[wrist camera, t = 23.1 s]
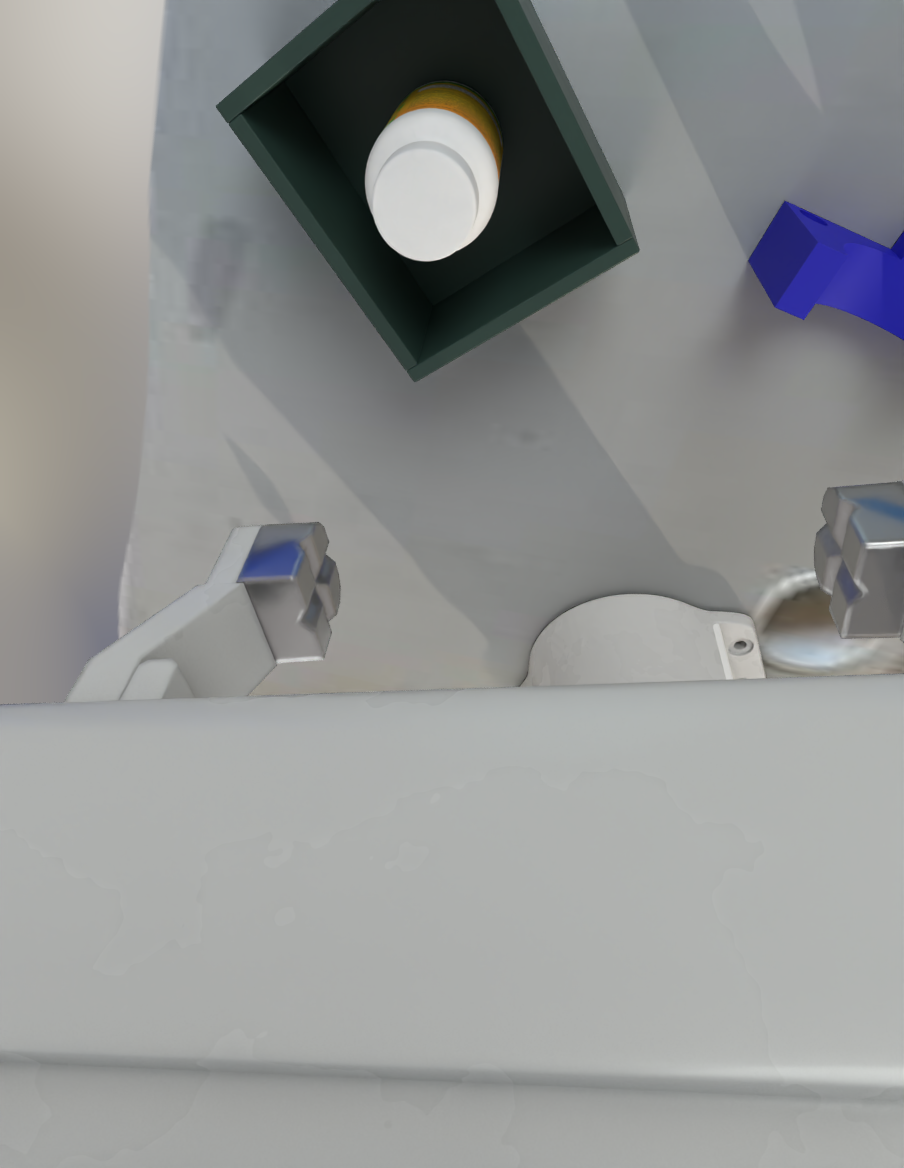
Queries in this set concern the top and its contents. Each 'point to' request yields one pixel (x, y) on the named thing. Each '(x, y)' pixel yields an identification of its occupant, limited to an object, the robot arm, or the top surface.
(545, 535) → the top surface
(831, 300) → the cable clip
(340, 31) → the bin
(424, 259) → the supplement bottle
